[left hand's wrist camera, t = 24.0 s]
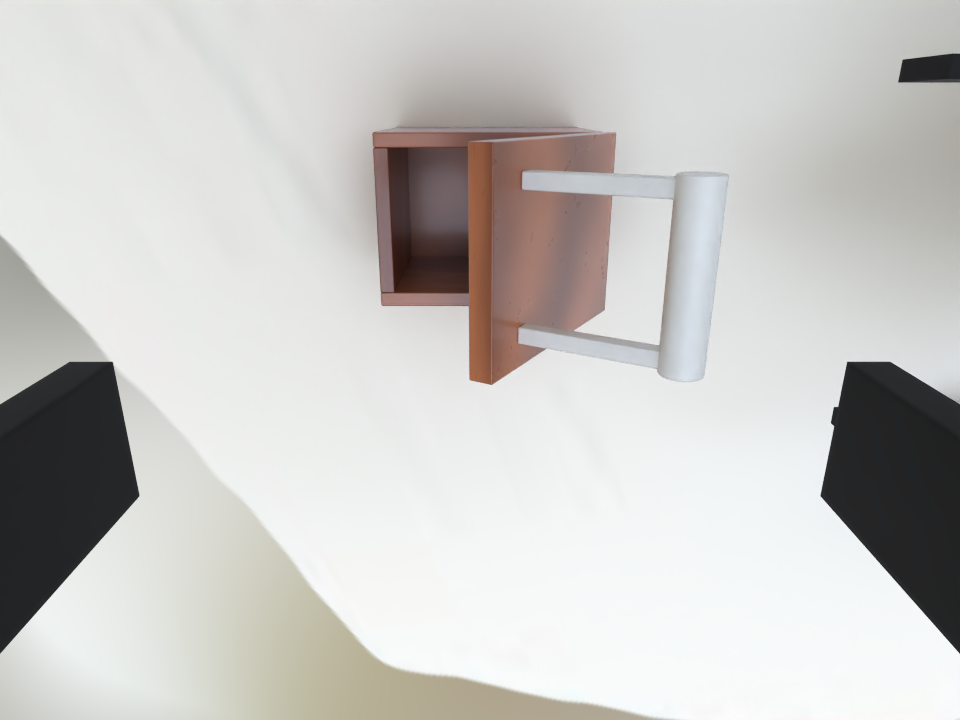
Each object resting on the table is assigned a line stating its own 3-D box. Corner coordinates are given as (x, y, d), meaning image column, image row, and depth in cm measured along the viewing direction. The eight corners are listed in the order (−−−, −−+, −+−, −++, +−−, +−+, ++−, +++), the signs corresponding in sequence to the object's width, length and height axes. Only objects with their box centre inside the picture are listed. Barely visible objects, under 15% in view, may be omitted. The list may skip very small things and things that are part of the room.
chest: (402, 265, 47) (381, 306, 37) (396, 127, 44) (371, 132, 34) (570, 265, 47) (594, 306, 37) (576, 127, 44) (604, 131, 34)
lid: (469, 380, 27) (682, 427, 23) (467, 141, 24) (714, 147, 20) (586, 307, 37) (749, 331, 33) (596, 132, 34) (778, 135, 29)
